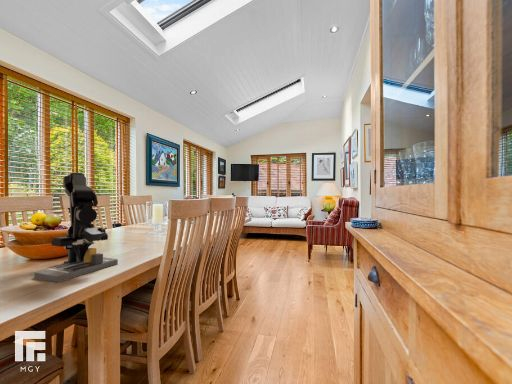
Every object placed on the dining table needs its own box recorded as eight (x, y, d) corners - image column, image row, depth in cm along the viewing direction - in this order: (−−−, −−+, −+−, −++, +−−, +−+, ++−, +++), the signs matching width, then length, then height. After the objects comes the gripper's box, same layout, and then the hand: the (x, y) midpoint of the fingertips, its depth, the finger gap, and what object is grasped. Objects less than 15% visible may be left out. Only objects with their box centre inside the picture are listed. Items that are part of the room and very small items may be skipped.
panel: (34, 277, 90) (34, 261, 90) (97, 260, 113) (97, 248, 113) (56, 282, 86) (56, 265, 86) (117, 263, 108) (117, 250, 108)
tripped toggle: (83, 261, 102) (84, 249, 102) (91, 259, 105) (91, 247, 105) (89, 262, 101) (89, 249, 101) (96, 260, 104) (96, 248, 104)
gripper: (72, 224, 89) (70, 269, 88) (118, 220, 106) (116, 258, 106) (51, 222, 93) (49, 265, 92) (99, 219, 110) (97, 255, 110)
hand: (80, 260), depth 100 cm, fingers closed
